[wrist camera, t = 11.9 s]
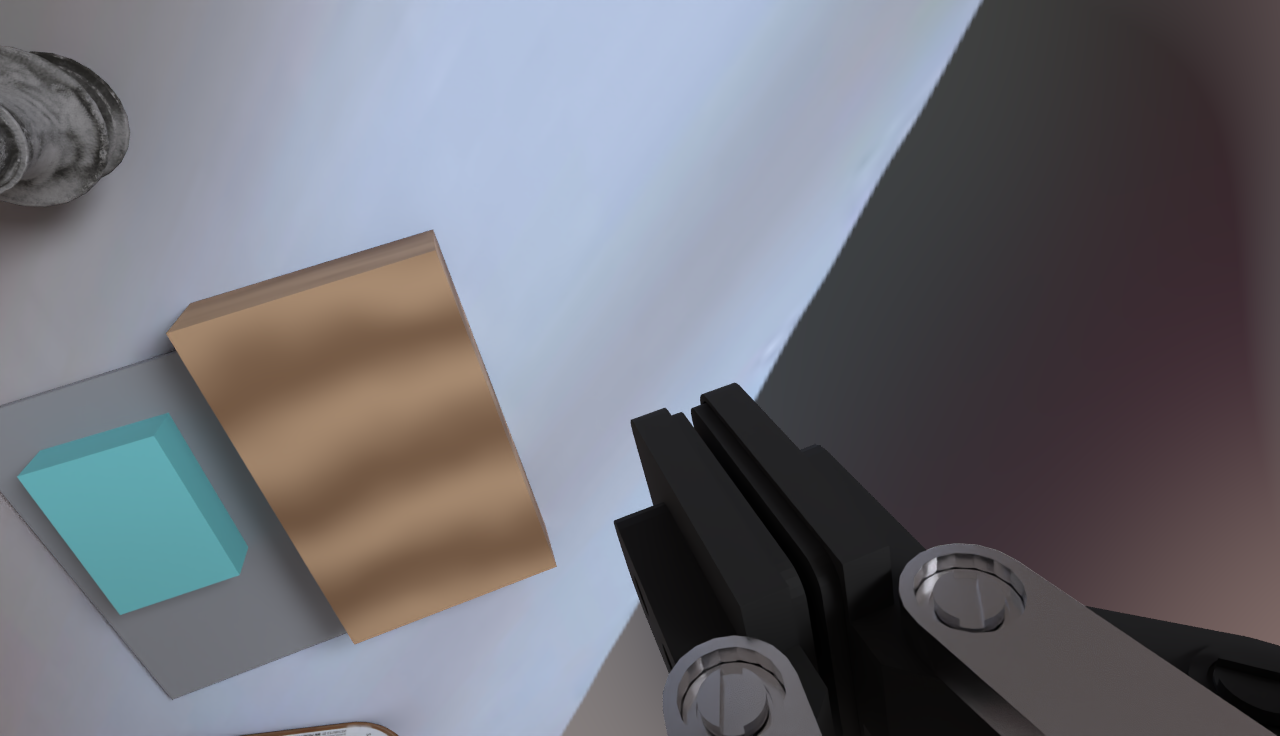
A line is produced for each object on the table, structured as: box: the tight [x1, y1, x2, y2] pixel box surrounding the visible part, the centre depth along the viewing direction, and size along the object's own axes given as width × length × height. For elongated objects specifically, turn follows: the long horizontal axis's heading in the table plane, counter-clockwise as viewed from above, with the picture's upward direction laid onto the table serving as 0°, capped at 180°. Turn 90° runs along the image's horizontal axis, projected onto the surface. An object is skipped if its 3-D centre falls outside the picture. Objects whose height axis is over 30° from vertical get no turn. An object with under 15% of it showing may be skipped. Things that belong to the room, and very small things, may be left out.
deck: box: [166, 230, 557, 644], centre depth 39 cm, size 20×12×4 cm, turn 14°
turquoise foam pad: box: [17, 413, 248, 615], centre depth 37 cm, size 9×6×2 cm, turn 12°
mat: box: [0, 351, 347, 700], centre depth 39 cm, size 20×11×1 cm, turn 14°
